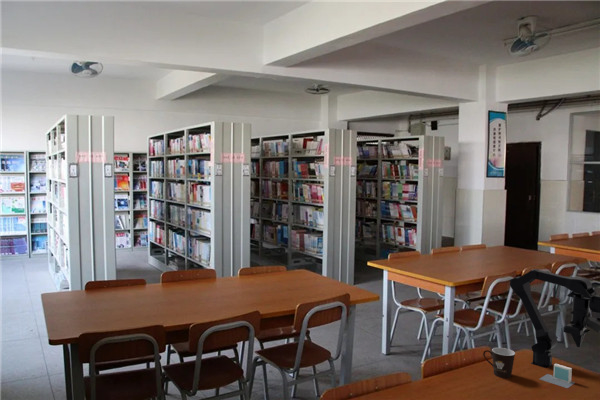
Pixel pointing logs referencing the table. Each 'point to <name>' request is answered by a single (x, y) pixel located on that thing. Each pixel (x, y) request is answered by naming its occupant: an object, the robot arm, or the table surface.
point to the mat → (556, 381)
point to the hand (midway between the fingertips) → (578, 346)
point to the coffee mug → (502, 361)
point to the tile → (562, 373)
